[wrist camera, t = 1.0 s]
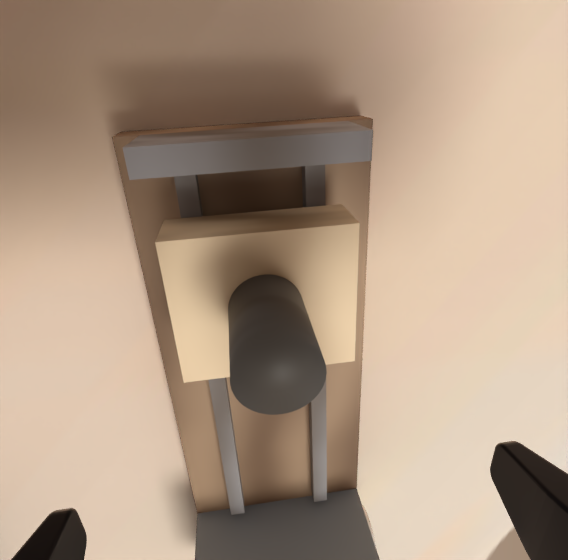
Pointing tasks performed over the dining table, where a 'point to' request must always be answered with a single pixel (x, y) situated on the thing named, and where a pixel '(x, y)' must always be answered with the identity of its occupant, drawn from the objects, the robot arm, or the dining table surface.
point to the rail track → (241, 199)
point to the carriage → (263, 300)
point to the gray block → (289, 531)
